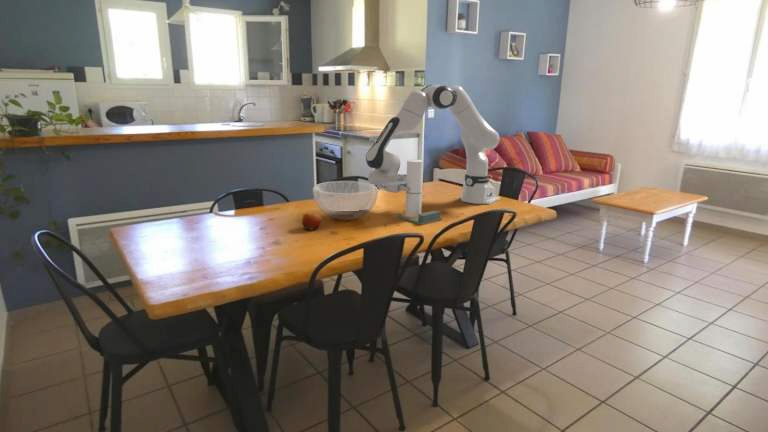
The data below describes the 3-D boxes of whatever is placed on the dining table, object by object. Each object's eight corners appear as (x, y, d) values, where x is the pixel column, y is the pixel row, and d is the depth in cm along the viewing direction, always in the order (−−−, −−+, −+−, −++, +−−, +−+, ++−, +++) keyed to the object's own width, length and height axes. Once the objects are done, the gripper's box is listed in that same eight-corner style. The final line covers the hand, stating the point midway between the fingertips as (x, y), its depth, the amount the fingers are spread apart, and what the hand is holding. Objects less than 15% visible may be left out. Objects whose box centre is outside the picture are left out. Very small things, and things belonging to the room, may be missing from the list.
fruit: (296, 228, 187) (300, 209, 189) (304, 232, 194) (309, 214, 196) (313, 230, 184) (318, 211, 186) (321, 235, 192) (325, 217, 194)
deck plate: (415, 212, 220) (415, 204, 219) (441, 220, 208) (441, 211, 207) (395, 216, 212) (395, 208, 210) (421, 225, 200) (421, 216, 199)
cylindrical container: (421, 213, 214) (423, 159, 207) (420, 217, 207) (422, 162, 201) (406, 212, 215) (407, 159, 208) (405, 216, 208) (406, 161, 201)
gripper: (378, 178, 209) (399, 184, 199) (409, 174, 223) (431, 178, 213) (378, 192, 211) (399, 198, 201) (409, 186, 224) (430, 191, 214)
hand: (415, 188), depth 207 cm, fingers closed on cylindrical container, 7 cm apart
